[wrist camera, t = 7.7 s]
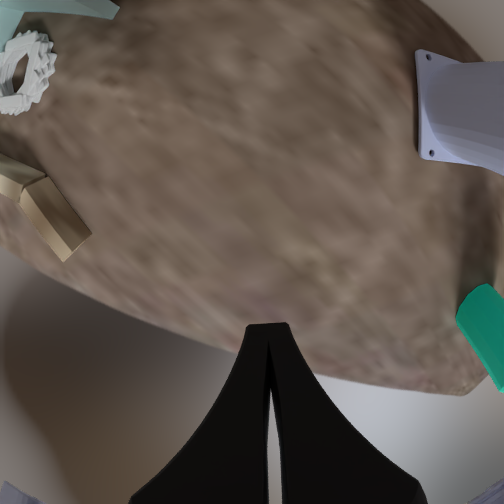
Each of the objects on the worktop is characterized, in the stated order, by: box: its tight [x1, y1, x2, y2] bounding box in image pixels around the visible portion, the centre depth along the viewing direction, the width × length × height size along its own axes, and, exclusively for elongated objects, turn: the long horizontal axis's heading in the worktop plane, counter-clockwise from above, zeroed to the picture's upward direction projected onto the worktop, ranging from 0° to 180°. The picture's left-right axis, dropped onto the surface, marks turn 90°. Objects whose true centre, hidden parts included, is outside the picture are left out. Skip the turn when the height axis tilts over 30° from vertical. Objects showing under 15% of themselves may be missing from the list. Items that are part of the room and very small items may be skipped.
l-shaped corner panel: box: [0, 0, 120, 116], centre depth 9 cm, size 12×12×8 cm
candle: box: [456, 283, 504, 393], centre depth 17 cm, size 6×6×12 cm
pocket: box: [0, 153, 92, 262], centre depth 11 cm, size 21×23×3 cm
